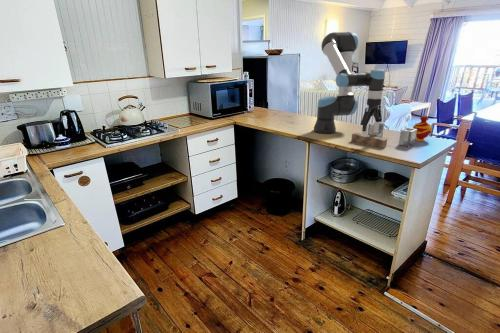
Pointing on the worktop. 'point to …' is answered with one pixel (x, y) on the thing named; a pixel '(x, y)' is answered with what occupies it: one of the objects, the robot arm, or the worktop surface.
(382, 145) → the rail
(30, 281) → the worktop surface
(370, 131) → the bracket
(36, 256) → the worktop surface
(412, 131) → the bracket
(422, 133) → the potion bottle
